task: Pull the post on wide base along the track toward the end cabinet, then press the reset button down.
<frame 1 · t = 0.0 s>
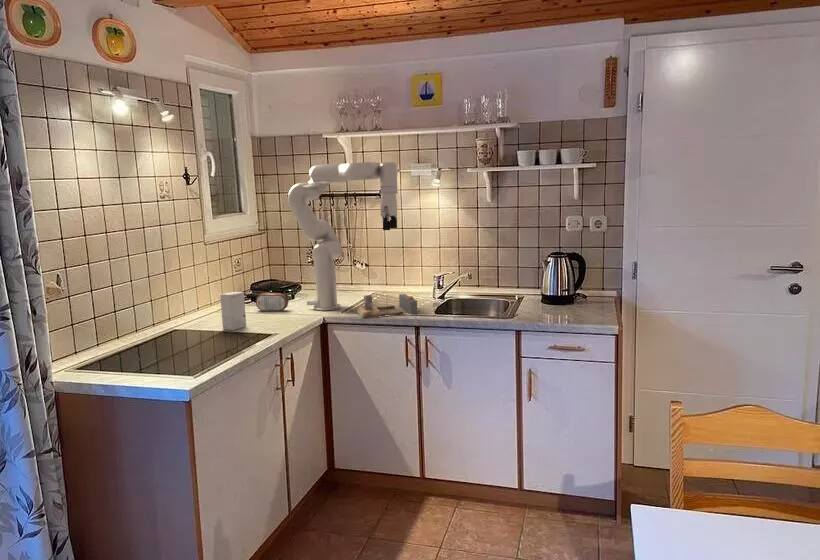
hand: (390, 229, 283), 37 cm above the countertop, tool pointing down, fingers open, 9 cm apart
skincare box: (234, 328, 264), on the countertop
post on wide base: (368, 304, 282), point 4 cm above the countertop, slide at 0.0 cm
tin: (272, 311, 296), on the countertop
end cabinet: (408, 310, 288), on the countertop
track: (379, 313, 284), on the countertop
reset button: (410, 300, 284), point 6 cm above the countertop, slide at 0.0 cm
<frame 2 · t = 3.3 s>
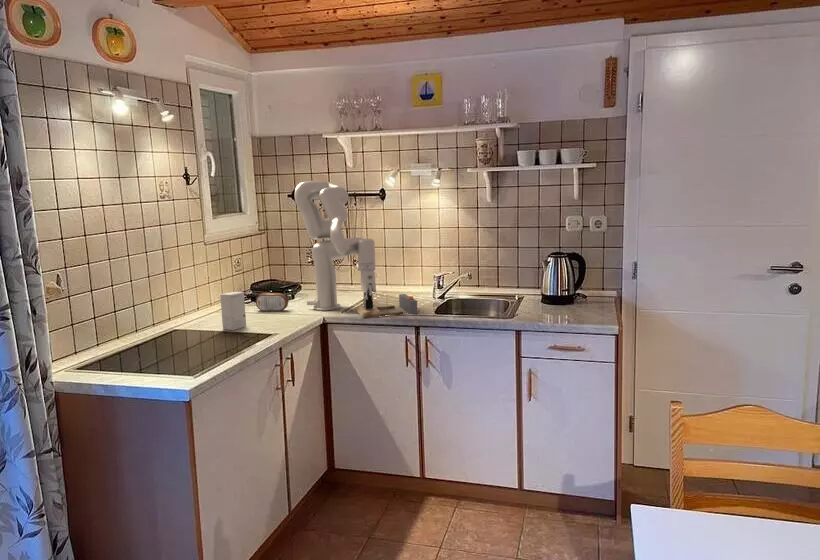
hand: (368, 307, 282), 3 cm above the countertop, tool pointing down, fingers closed on post on wide base, 3 cm apart
post on wide base: (368, 304, 282), point 4 cm above the countertop, slide at 0.0 cm, touching gripper
everything else where it was.
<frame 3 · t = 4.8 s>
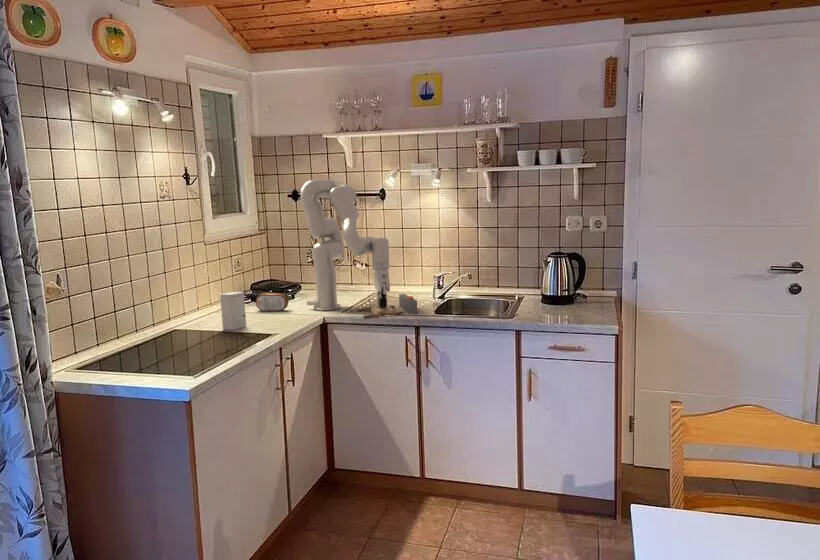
hand: (382, 305, 284), 3 cm above the countertop, tool pointing down, fingers closed on post on wide base, 3 cm apart
post on wide base: (382, 303, 284), point 4 cm above the countertop, slide at 6.4 cm, touching gripper
everything else where it was.
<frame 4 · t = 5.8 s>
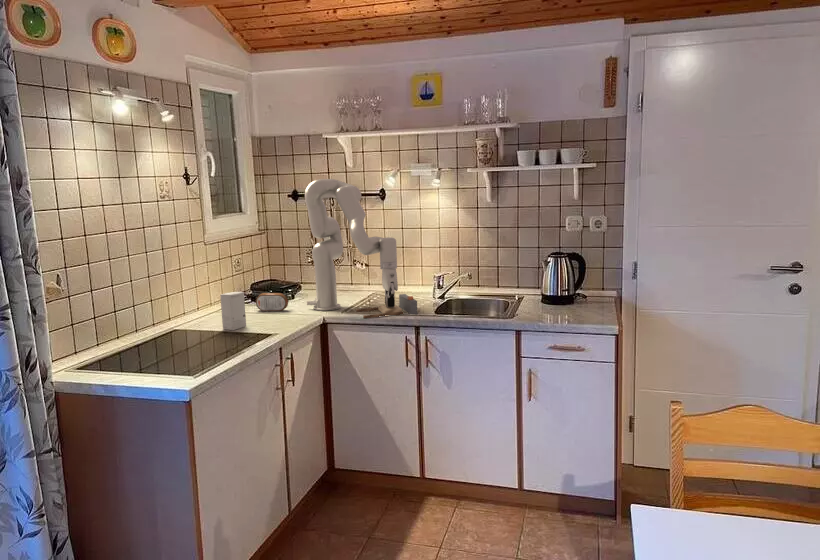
hand: (389, 305, 285), 3 cm above the countertop, tool pointing down, fingers open, 3 cm apart
post on wide base: (389, 302, 285), point 4 cm above the countertop, slide at 10.0 cm
everything else where it was.
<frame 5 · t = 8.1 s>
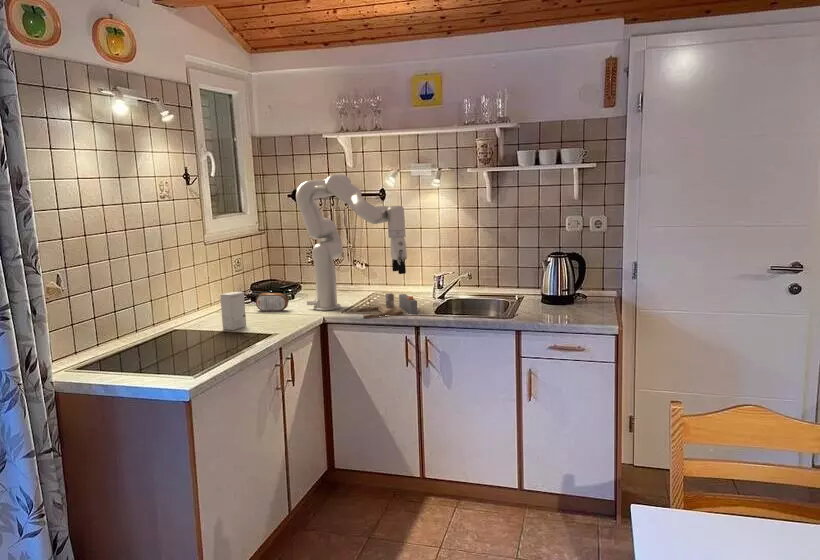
hand: (399, 272, 282), 18 cm above the countertop, tool pointing down, fingers open, 9 cm apart
nothing on the countertop moved.
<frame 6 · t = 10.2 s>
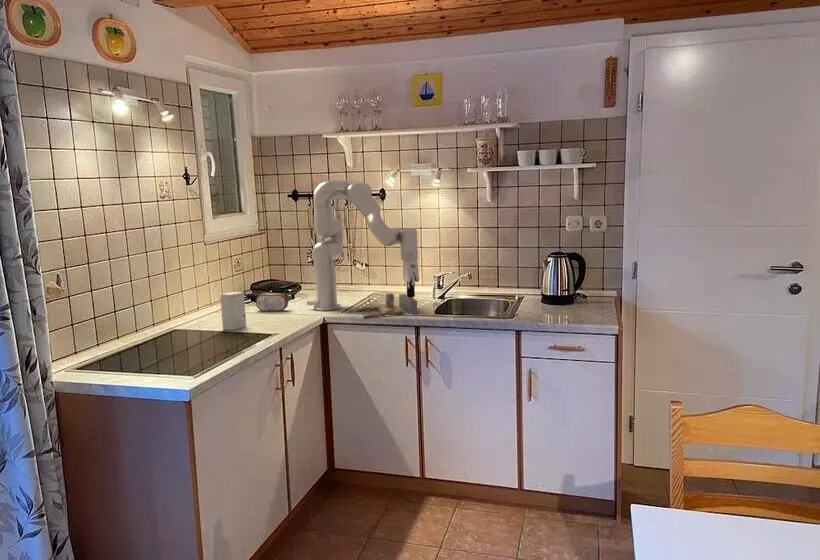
hand: (410, 296, 283), 7 cm above the countertop, tool pointing down, fingers closed
reset button: (410, 300, 284), point 5 cm above the countertop, slide at 0.2 cm, touching gripper
everything else where it was.
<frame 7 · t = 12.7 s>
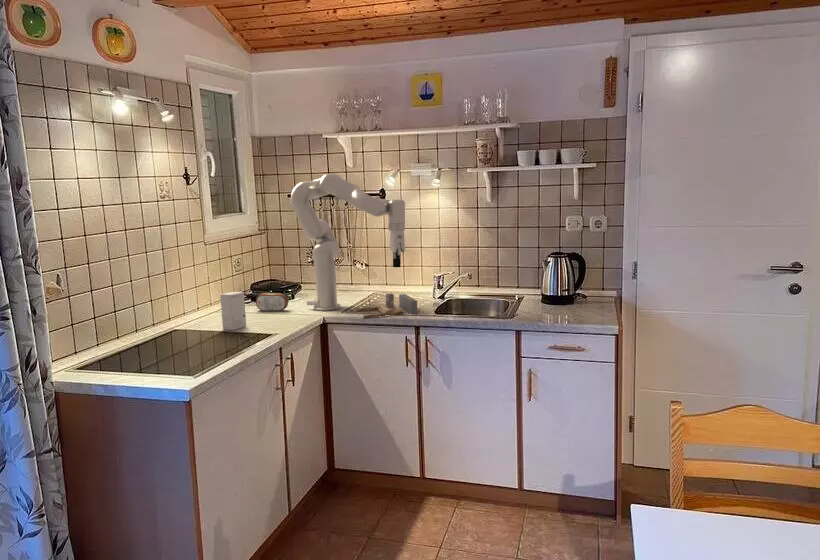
hand: (396, 267, 290), 19 cm above the countertop, tool pointing down, fingers closed
reset button: (410, 302, 284), point 5 cm above the countertop, slide at 1.0 cm
everything else where it was.
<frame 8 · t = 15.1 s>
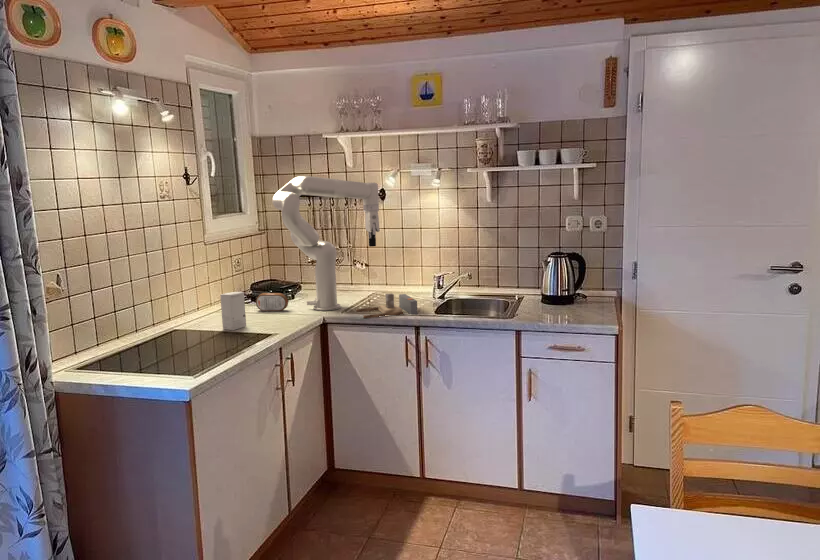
hand: (372, 246, 309), 27 cm above the countertop, tool pointing down, fingers closed
nothing on the countertop moved.
at the end: post on wide base slide at 10.0 cm; the gripper is holding nothing; reset button slide at 1.0 cm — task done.
